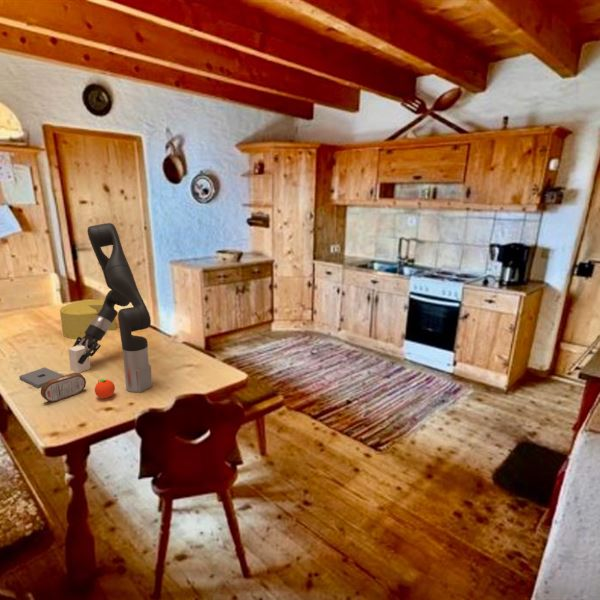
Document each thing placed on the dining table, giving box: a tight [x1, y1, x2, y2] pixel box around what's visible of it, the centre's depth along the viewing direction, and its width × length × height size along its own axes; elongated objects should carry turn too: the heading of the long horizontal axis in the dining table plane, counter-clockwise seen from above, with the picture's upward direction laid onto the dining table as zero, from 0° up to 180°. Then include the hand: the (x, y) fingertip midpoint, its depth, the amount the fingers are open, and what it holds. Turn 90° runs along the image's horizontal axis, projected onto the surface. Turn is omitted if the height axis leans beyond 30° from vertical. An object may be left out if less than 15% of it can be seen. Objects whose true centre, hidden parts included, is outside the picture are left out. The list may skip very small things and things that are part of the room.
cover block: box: [67, 345, 91, 374], centre depth 170 cm, size 6×6×10 cm
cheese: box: [59, 299, 117, 340], centre depth 215 cm, size 26×26×15 cm
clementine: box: [94, 378, 116, 399], centre depth 149 cm, size 8×7×7 cm
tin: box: [40, 372, 87, 403], centre depth 147 cm, size 15×3×8 cm, turn 141°
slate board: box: [19, 367, 65, 389], centre depth 161 cm, size 14×10×2 cm
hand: (75, 361), depth 169 cm, fingers closed on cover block, 5 cm apart
